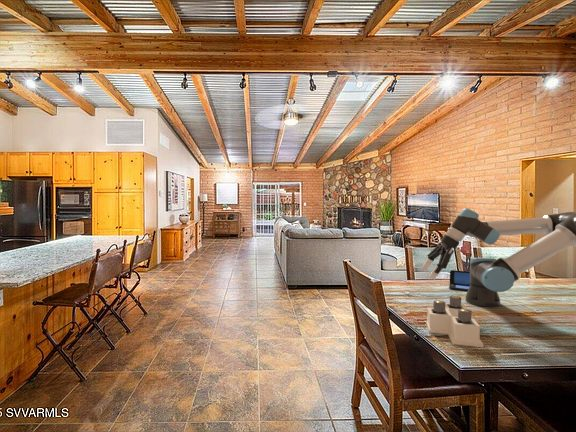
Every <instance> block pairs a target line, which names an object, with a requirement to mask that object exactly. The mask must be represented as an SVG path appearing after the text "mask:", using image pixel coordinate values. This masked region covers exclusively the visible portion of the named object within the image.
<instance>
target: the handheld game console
mask: <svg viewBox="0 0 576 432" xmlns="http://www.w3.org/2000/svg"><path fill="white" fill-rule="evenodd" d="M448 286H449V287H448V289H449V290H452V291H460V292H468V289H469V287H470V271H464V270H456V269H455V270H453V269H452V270H450V271H449V285H448Z"/></svg>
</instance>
